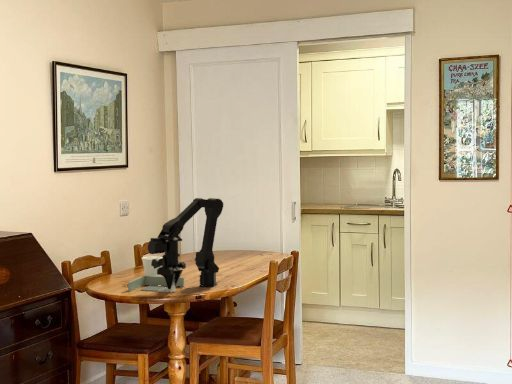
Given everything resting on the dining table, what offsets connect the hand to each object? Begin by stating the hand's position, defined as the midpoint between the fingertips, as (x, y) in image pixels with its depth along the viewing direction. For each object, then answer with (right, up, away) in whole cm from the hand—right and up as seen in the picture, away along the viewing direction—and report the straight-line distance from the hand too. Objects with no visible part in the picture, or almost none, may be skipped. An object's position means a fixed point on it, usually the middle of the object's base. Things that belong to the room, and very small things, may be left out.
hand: (171, 287), depth 292 cm
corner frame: (-7, -1, +6) cm, 10 cm away
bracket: (-2, -1, +1) cm, 3 cm away
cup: (-12, -1, +24) cm, 27 cm away
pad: (-9, -1, +6) cm, 11 cm away
